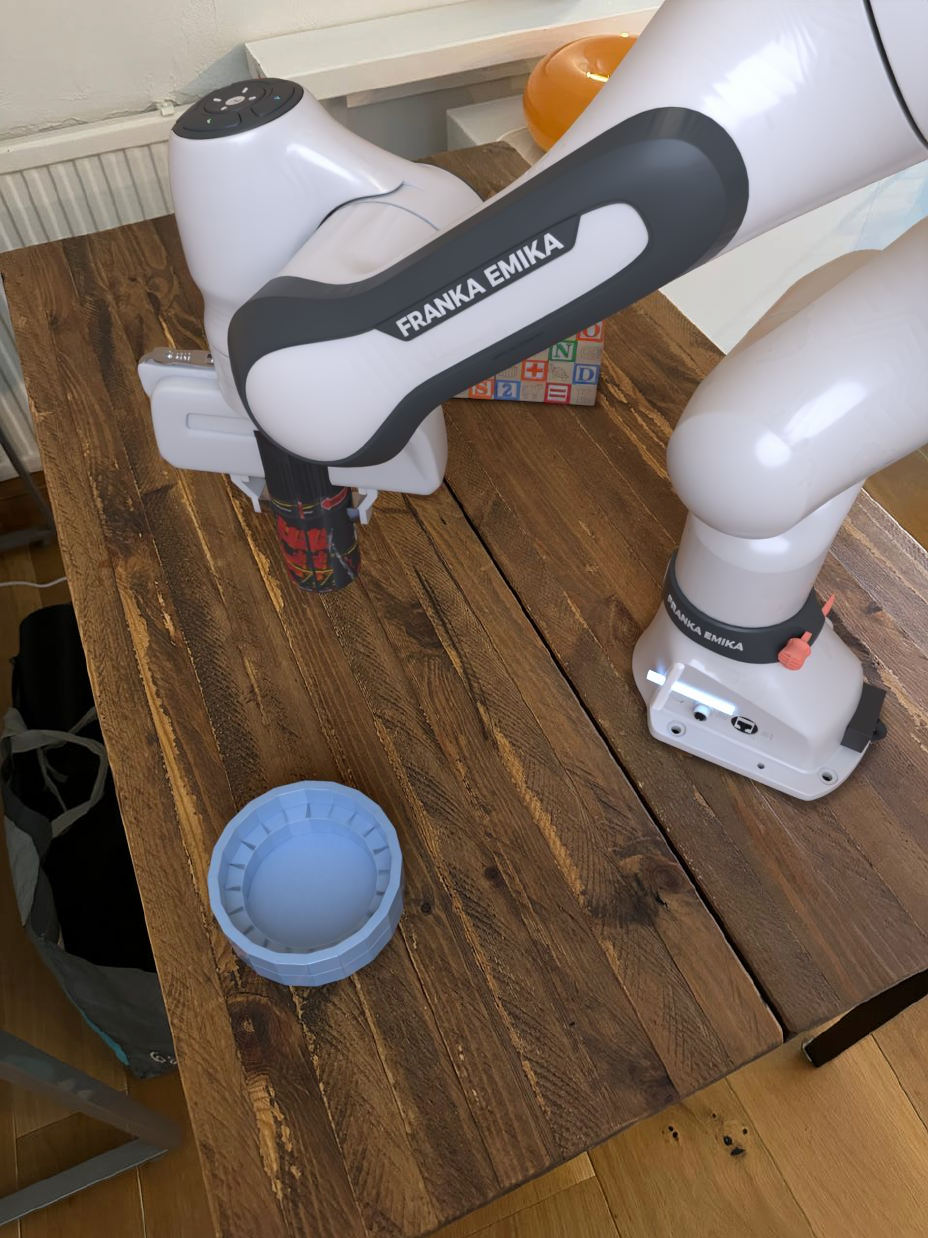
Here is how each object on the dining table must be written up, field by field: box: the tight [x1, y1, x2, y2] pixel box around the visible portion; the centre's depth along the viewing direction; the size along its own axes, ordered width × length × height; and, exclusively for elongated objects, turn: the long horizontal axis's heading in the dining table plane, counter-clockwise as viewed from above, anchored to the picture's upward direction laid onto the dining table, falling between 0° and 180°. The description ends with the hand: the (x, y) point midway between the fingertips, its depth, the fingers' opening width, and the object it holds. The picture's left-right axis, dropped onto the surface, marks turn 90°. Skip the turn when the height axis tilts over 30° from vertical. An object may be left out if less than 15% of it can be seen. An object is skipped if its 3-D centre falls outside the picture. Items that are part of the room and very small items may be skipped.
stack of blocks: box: [453, 318, 607, 406], centre depth 111 cm, size 21×6×12 cm, turn 85°
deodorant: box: [253, 430, 362, 594], centre depth 70 cm, size 6×6×15 cm
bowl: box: [206, 780, 407, 987], centre depth 74 cm, size 15×15×6 cm
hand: (314, 512), depth 71 cm, fingers closed on deodorant, 6 cm apart
